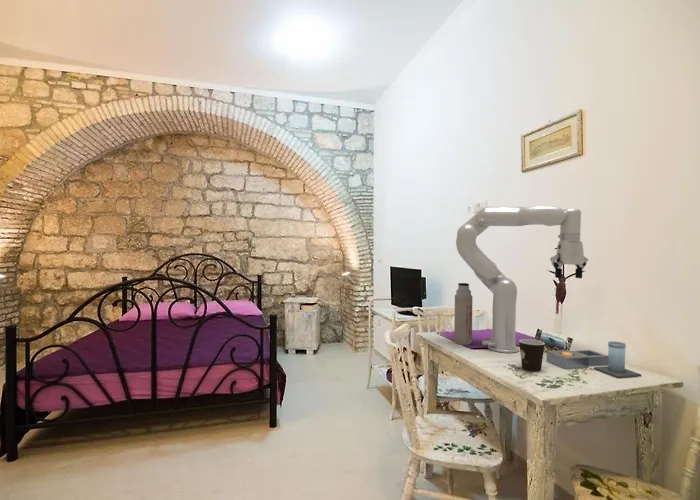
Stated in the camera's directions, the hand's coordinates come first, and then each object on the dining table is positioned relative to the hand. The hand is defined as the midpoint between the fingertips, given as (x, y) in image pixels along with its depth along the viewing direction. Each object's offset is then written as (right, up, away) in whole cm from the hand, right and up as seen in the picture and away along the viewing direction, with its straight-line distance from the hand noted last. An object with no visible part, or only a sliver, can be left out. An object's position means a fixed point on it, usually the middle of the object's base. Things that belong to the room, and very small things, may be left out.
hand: (568, 277), depth 165 cm
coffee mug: (-25, -33, -20) cm, 46 cm away
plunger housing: (-9, -32, -15) cm, 37 cm away
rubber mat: (+3, -33, -25) cm, 41 cm away
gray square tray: (+1, -32, -12) cm, 35 cm away
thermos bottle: (-40, -32, +17) cm, 54 cm away
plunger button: (-9, -31, -15) cm, 36 cm away
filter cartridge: (+3, -32, -25) cm, 41 cm away
